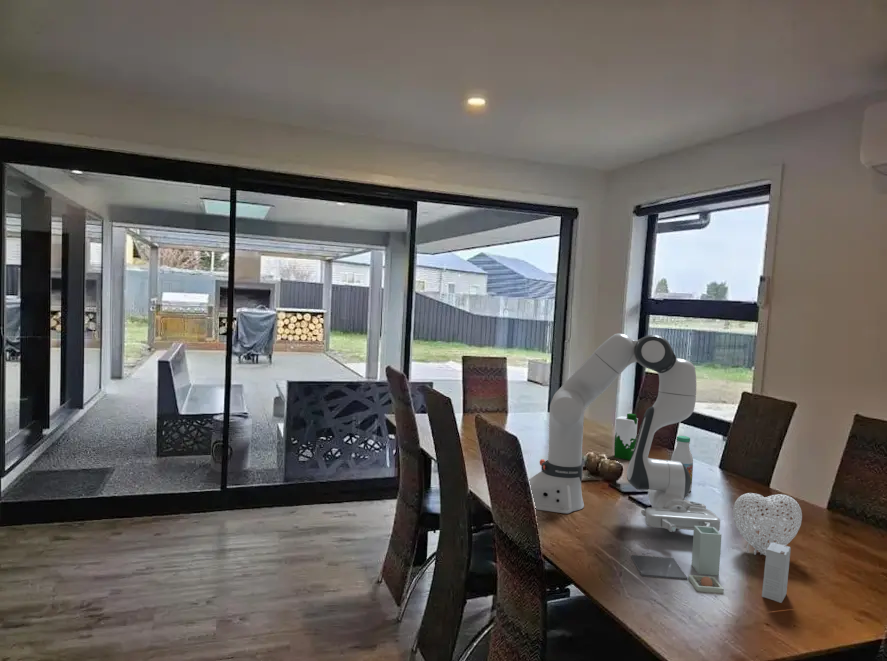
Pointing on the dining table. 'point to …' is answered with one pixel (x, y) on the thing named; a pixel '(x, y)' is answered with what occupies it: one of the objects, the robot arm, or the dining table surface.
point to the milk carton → (625, 436)
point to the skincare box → (776, 572)
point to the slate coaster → (658, 567)
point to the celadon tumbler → (706, 550)
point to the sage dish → (706, 588)
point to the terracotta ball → (706, 581)
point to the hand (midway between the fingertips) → (690, 530)
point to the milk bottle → (684, 454)
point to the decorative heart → (766, 520)
